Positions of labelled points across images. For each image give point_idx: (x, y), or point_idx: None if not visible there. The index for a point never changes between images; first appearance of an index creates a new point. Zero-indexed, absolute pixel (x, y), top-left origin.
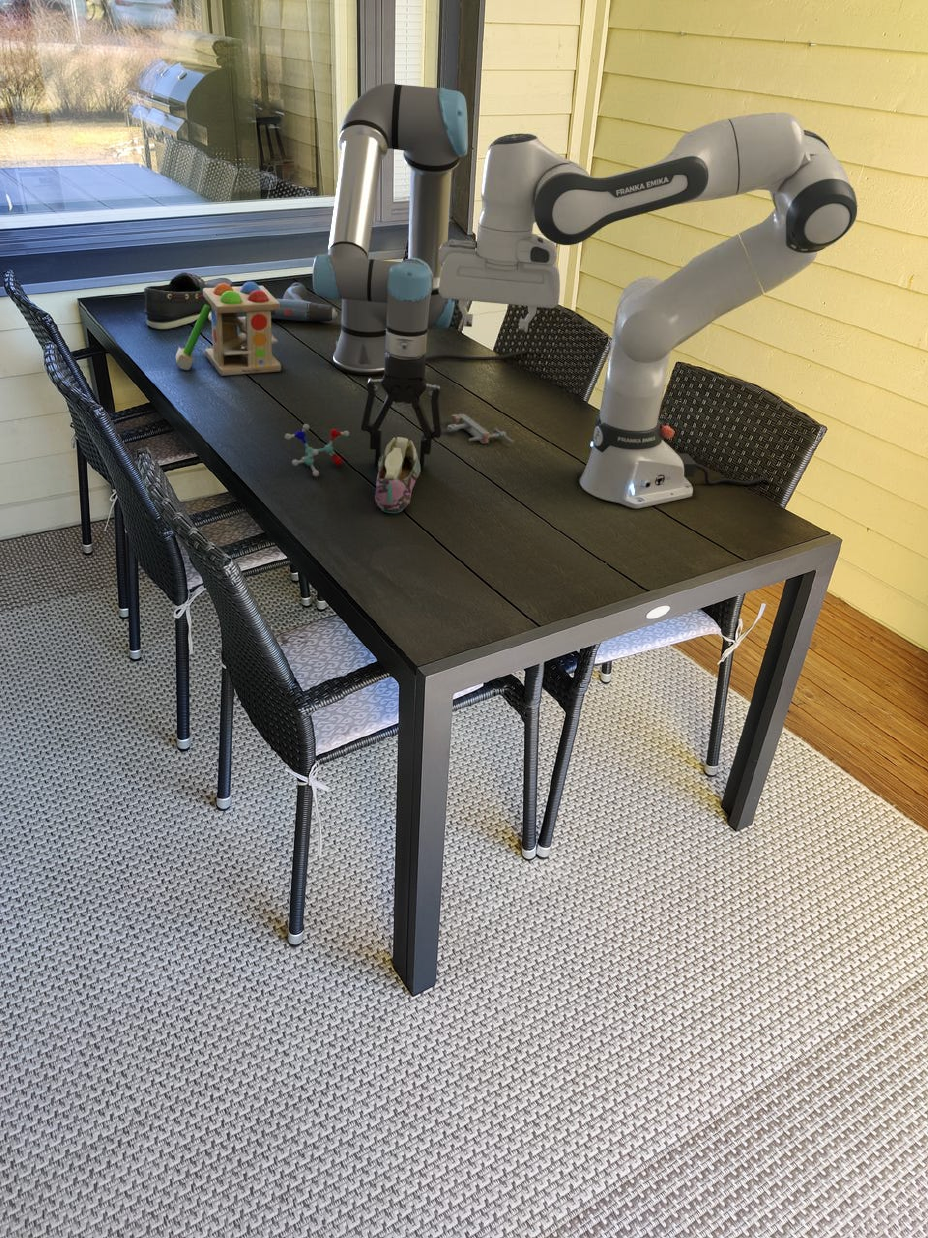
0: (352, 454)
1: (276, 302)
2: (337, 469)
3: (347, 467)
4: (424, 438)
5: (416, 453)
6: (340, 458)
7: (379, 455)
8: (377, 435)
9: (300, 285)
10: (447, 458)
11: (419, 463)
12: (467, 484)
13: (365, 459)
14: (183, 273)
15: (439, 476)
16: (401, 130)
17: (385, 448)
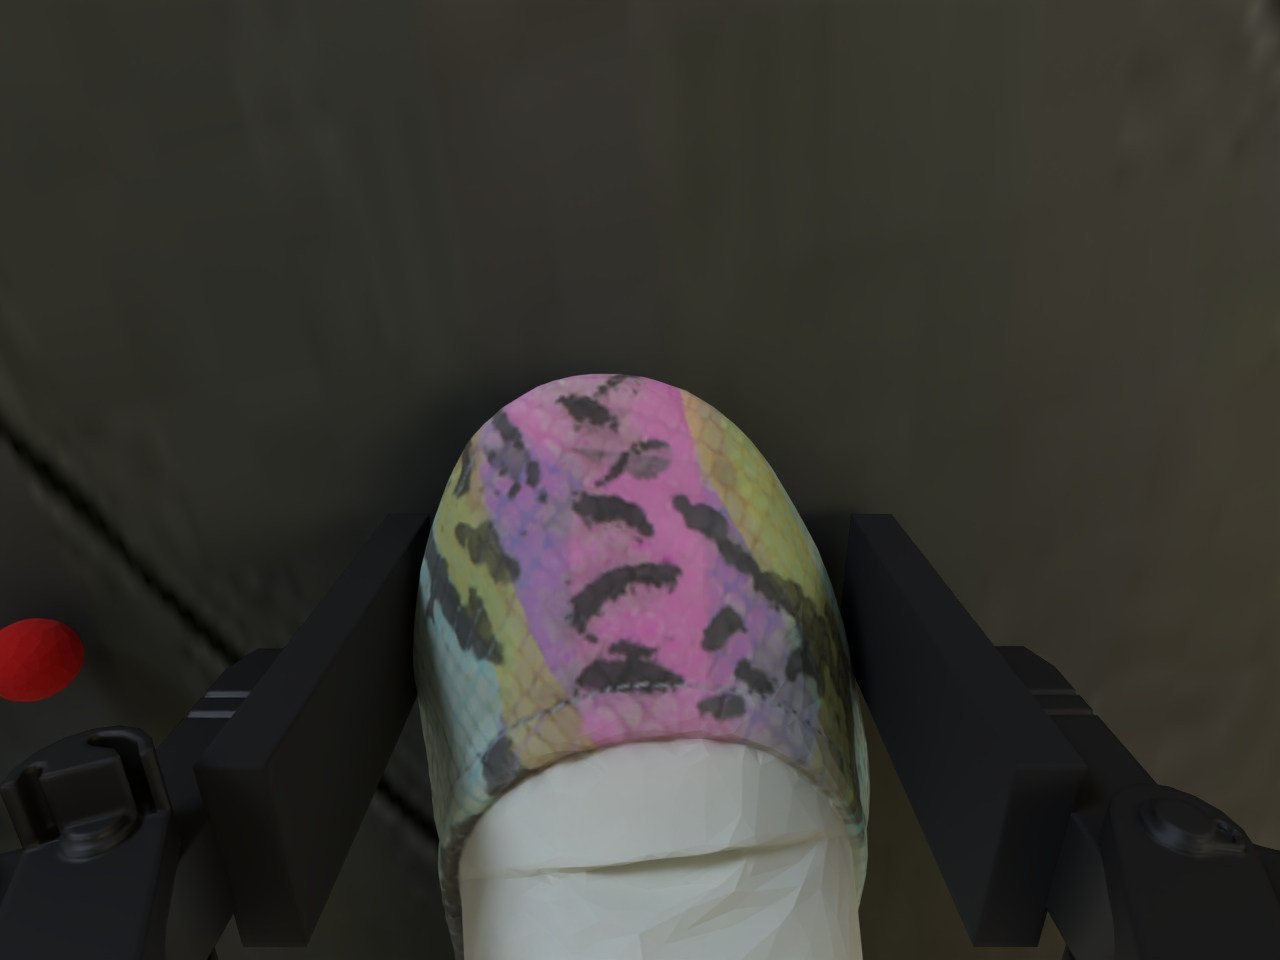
0: (89, 347)
1: None
2: (93, 686)
3: (160, 636)
4: (1039, 887)
5: (854, 850)
6: (27, 680)
7: (407, 684)
8: (258, 928)
9: None
10: (1187, 211)
11: (867, 816)
12: (1256, 735)
13: (265, 439)
14: None
15: (1023, 644)
16: None
17: (456, 857)
